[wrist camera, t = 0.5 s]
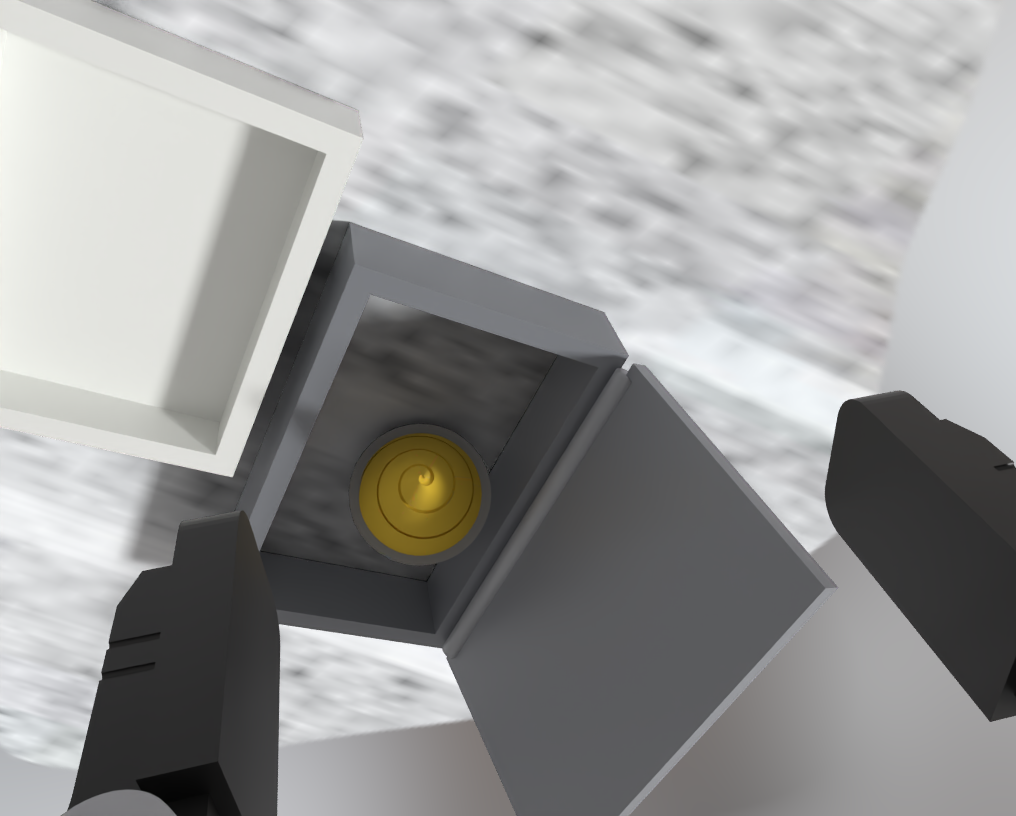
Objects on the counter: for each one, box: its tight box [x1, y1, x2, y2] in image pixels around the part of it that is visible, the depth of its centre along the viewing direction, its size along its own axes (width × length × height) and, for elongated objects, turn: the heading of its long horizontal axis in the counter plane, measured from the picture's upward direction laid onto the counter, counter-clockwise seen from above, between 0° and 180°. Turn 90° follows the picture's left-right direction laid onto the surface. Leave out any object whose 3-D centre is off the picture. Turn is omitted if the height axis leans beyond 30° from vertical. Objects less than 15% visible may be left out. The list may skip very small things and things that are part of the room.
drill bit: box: [349, 424, 491, 566], centre depth 31 cm, size 5×5×10 cm
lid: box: [442, 364, 838, 816], centre depth 30 cm, size 16×10×1 cm
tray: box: [0, 0, 364, 477], centre depth 26 cm, size 13×10×2 cm
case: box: [235, 222, 629, 648], centre depth 32 cm, size 16×10×3 cm, turn 153°
